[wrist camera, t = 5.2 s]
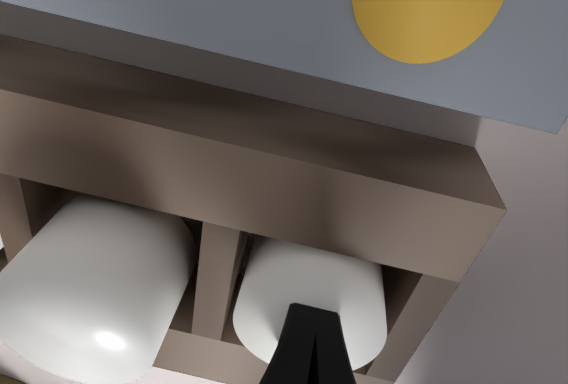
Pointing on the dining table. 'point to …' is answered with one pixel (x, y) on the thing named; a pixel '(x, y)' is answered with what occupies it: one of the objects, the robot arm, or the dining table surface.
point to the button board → (240, 191)
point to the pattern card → (376, 45)
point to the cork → (8, 380)
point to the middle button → (96, 290)
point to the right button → (310, 296)
